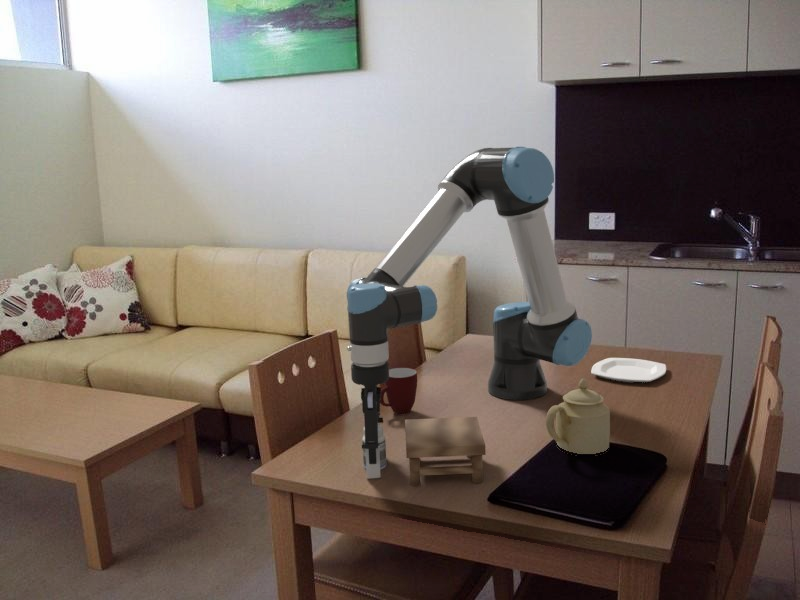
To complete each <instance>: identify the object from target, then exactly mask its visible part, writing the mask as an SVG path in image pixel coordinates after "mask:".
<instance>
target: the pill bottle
mask: <svg viewBox="0 0 800 600" xmlns="http://www.w3.org/2000/svg"><path fill="white" fill-rule="evenodd" d="M379 424H380V423H378V443H379V453H380V470H383V469H384V468H386V466H387V448H386V447H387V445H386V443H387V442H386V436H385V435H384V427H383V426H382V425H381V424H380V425H379ZM362 433H363V436H362V437H361V439H362V440H361V442H362V443H361V446H362V445H365V426H363V432H362ZM362 456H363V457H362V460H363V468H364V469H366V452H365V448H362Z"/></svg>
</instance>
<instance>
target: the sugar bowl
mask: <svg viewBox="0 0 800 600" xmlns="http://www.w3.org/2000/svg"><path fill="white" fill-rule="evenodd" d="M588 387H589V384H588V381H587V380H586V378H581V379H580V380H579V382H578V388H576V389H572V390H570V391H568V392H567V393H566V394H564V395H563V396H562V400H563V401H562V402H561V403H558V405H557V404H554V405H552V406H551V407H550V408H549V409H548V411H547V413H546V418H545V425H546V429H547V432H548V434H549V435H550V437H551V439H553V440H554V441H555V444H556V443H557V445H558V446H559V447H560V448H562V449H564V450H566V451H569V452H573V453H577V454H596V453H600V452H604V451H606V450H607V449H608V448H609V449H610V439H611V438H610V435H611V433H610V432H611V410H610V408H609V406H607V405H606V404H604V403H603V402H604V400H605V398H604V396H602V395H601V394H599V393H598V392H596V391H595V390H591V389H587V388H588ZM557 445H556V446H557ZM609 449H608V450H609ZM606 452H607V451H606Z"/></svg>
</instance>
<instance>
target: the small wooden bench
mask: <svg viewBox="0 0 800 600" xmlns="http://www.w3.org/2000/svg"><path fill="white" fill-rule="evenodd" d="M478 419H479V418H478V416H461V417H457V416H456V417H439V418H437V417H436V418H417V419H416V418H412V419H404V421H405V422H404V427H405V430H404V431H405V451H406V453H405V454H406V455H405V457H406V459H408V460H409V461H408V463H409V464H408V465H409V483H410V485H411V486H412V487H417V486H420V485H421V476H436V475H437V476H440V475H442V476H443V475H462V474H463V475H464V474H472V475H471V479H472V480H471V481H472V483H474V484H481V483H483V456H486V452H487V451H486V450H487V449H486V442H485V439H484V436H483V433H482V429H481V425H480V422H479V420H478ZM465 456H466V457H467V458H469V459H471V464H469V465H449V466H448V465H447V466H444V465H443V466H426V467H425V466H423V467H421V463H420V462H421V461H420V458H442V457H445V458H446V457H465Z"/></svg>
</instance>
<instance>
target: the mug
mask: <svg viewBox="0 0 800 600" xmlns="http://www.w3.org/2000/svg"><path fill="white" fill-rule="evenodd" d="M383 384H384V386H383V387H382V388H381V400H380V405H381V406H383V407H388V408H389V407H390V408H391V410H392V412H393V413H394V414H396V415H400V416H401V415H407V414H409V413H411V410H412V408H413V407H414V404H415V401H416V397H417V395H416V394H417V389H418V373H417V370H416V369H415V368H414V369H413V368H409V367H395V368H389V379H388V381H386V382H385V383H383ZM385 394H386V397H387V399H386V400H387V402H385V400H384V399H385V398H384V397H385Z"/></svg>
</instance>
